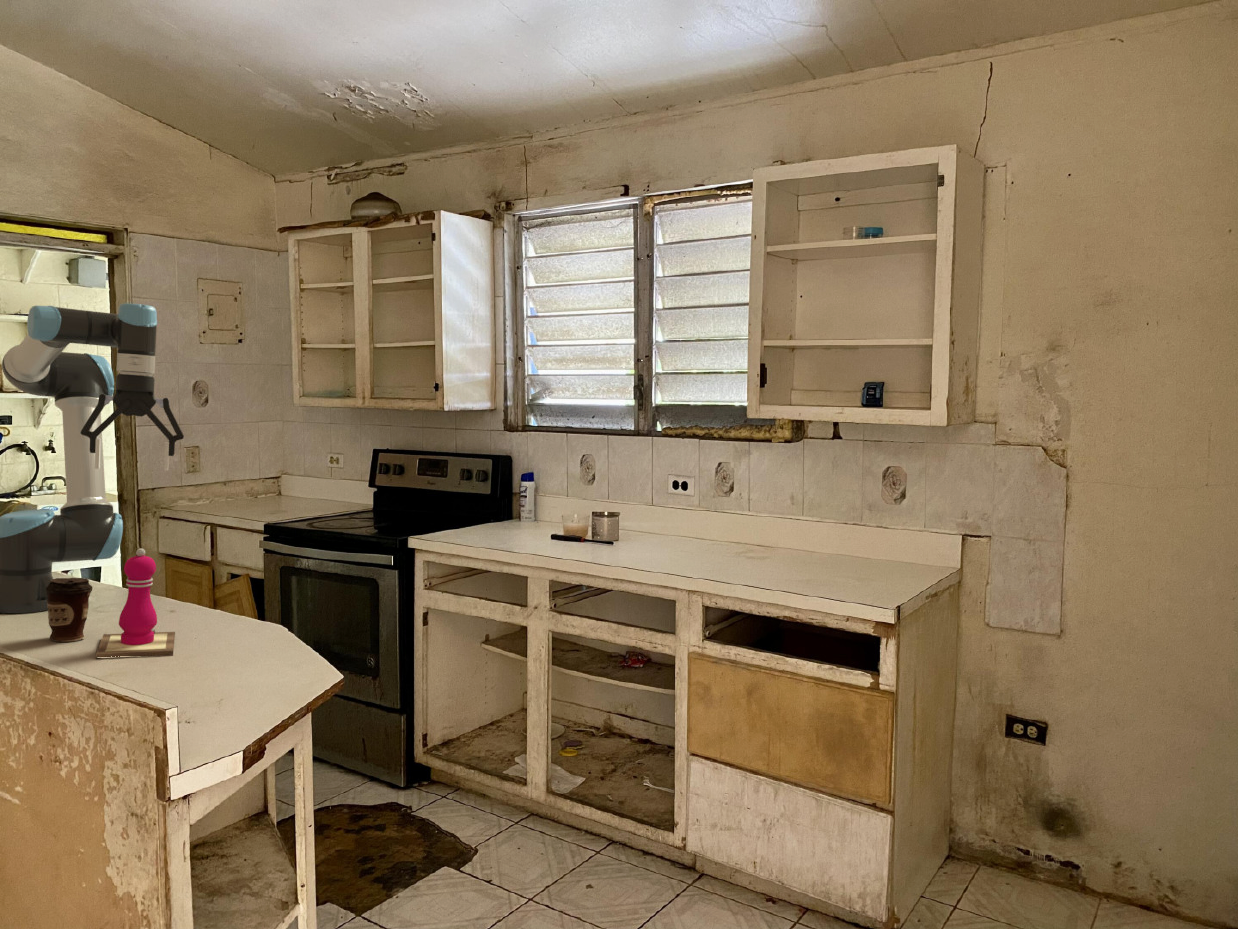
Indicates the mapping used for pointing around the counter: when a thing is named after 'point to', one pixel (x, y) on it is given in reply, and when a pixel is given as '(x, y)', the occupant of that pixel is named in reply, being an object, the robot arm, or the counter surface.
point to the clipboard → (137, 646)
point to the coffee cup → (68, 607)
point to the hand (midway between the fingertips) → (132, 469)
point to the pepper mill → (138, 601)
